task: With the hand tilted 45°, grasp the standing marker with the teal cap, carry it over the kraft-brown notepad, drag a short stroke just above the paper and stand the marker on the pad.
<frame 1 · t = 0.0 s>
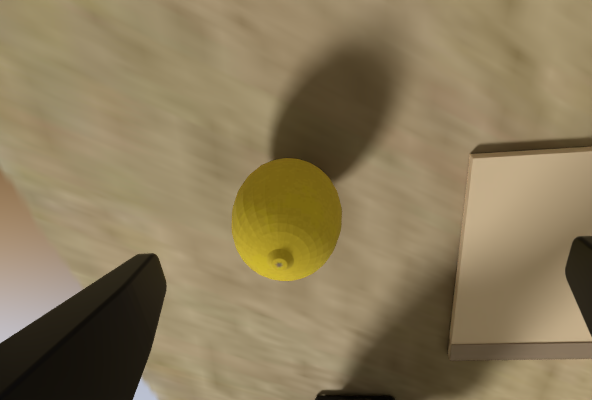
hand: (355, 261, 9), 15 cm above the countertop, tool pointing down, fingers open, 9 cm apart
lemon: (293, 178, 25), on the countertop
notepad: (555, 264, 27), on the countertop
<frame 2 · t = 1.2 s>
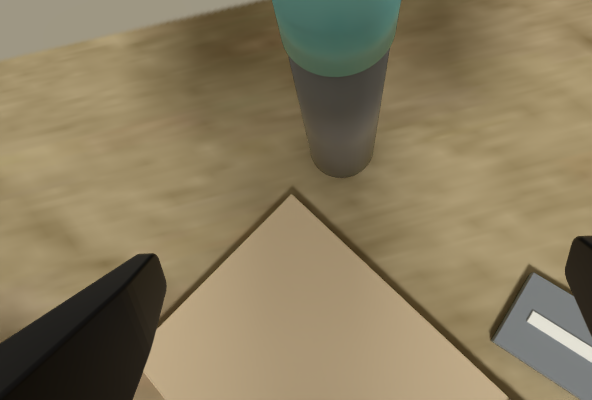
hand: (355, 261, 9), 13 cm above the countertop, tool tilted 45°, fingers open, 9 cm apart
notepad: (320, 386, 21), on the countertop
word tile: (569, 343, 20), on the countertop
marker: (341, 147, 24), on the countertop
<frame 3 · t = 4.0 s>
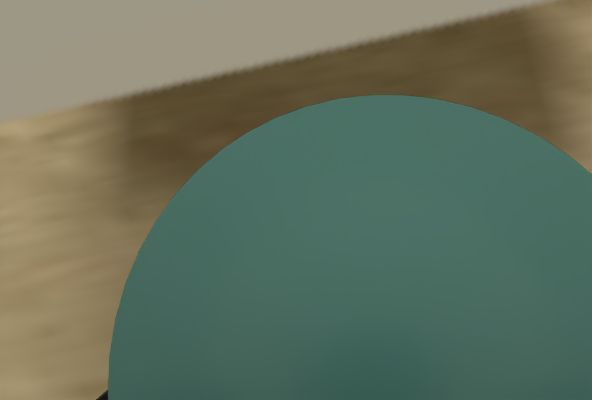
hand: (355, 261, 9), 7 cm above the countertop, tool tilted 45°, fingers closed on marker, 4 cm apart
marker: (354, 321, 15), on the countertop, touching gripper
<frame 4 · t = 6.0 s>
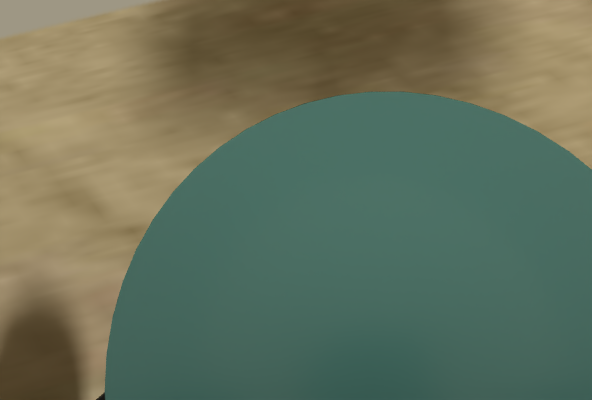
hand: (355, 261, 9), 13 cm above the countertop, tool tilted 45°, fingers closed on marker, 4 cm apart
marker: (354, 321, 15), point 7 cm above the countertop, touching gripper
when the fingers open (8 cm above the countertop, at t = 8.3 s): marker stays where it is, resting on notepad.
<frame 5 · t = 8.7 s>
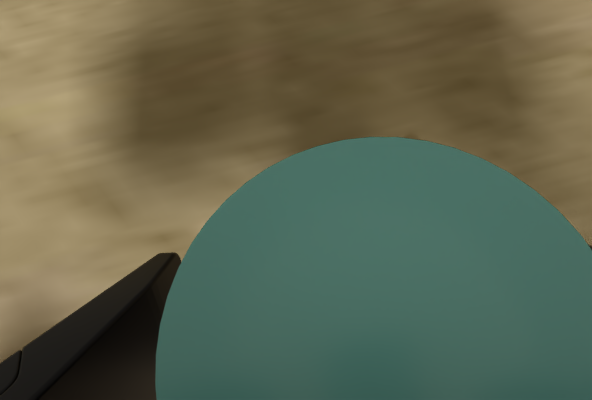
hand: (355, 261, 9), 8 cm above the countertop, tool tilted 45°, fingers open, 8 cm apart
marker: (354, 322, 16), point 1 cm above the countertop, touching notepad
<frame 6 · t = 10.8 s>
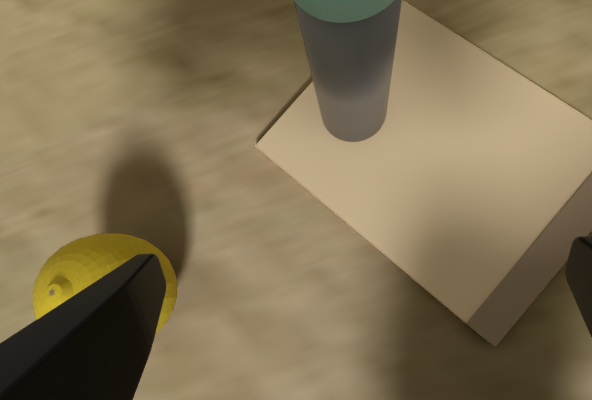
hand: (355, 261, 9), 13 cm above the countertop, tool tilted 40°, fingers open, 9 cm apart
lemon: (155, 291, 24), on the countertop
notepad: (435, 154, 23), on the countertop
marker: (353, 111, 23), point 1 cm above the countertop, touching notepad
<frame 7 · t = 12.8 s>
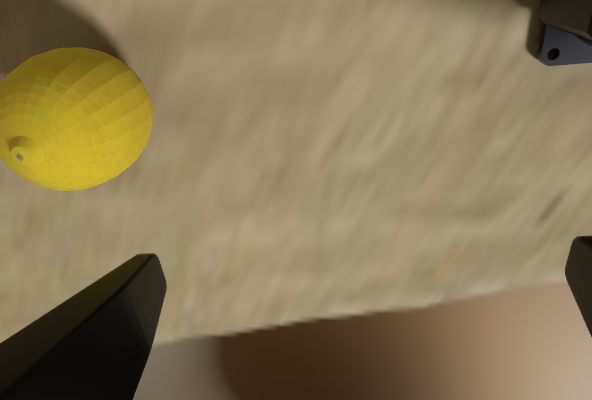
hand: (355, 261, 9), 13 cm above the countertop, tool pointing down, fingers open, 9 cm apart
lemon: (122, 90, 21), on the countertop
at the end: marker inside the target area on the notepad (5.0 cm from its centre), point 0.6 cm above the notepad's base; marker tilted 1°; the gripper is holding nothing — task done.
